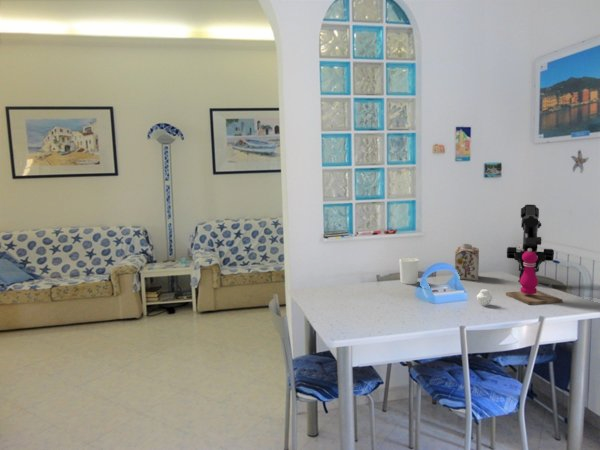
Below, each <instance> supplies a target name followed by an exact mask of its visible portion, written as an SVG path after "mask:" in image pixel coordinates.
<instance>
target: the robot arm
mask: <svg viewBox="0 0 600 450" xmlns="http://www.w3.org/2000/svg"><path fill="white" fill-rule="evenodd" d="M539 217H540V209H539V208H538V207H537V205H535V204H524V206H523V207H522V208H520V218H521V228H522V230H523V232H522V233H523V235H522V236H523V237H522V238H523V239H522V249H520V248H519V249H518V248H517V247H516V246H515V247H514V246H508V247H507V248H506V258H507V259H512V260H513V259H514V261H516V262H518V271H519V272H520V273H519V276H518V277H519V278H518V279H519V280H517V281H518V282H519V283H520V279H521V277H522V275H523V272H524V265H523V262H524V261H523V259H522V255H523V253H525V252H527V251H528V248H531V249H532V251H531V252H534V253H536V255H537V260H536V261H535V263H536V266H535V273H538V272H539V271H540V265H541V264H542V263H544V262H545V261H546V262H547V261H548V262H552V261H554V257H555V250H554V249H553V248H543V251H538V246H541V245H542V236H538V229H540V228H541V227H542V223H541V222H540V220H539Z"/></svg>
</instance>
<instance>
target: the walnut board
mask: <svg viewBox="0 0 600 450" xmlns="http://www.w3.org/2000/svg"><path fill="white" fill-rule="evenodd" d="M505 296H508V297H509V298H512V299H514V300H517V301H519V302H522V303H524V304H526V305H532V306H533V305H544V304H557V303H563V299H562V298H559V297H557V296H554V295H551V294H549V293H545V292H544V291H541V290H538V289H537V293H536V294H525V293H522V292H521V290H520V291H509V292H508V291H507V292H505Z"/></svg>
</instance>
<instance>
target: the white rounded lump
mask: <svg viewBox="0 0 600 450" xmlns="http://www.w3.org/2000/svg"><path fill="white" fill-rule="evenodd" d="M479 291H480V292H479V293H478V294H477V295H476V298H477V301H478V303H479V305H480V306H482V307H488V306H489V305H490V304H491V302H492V300H493V295H492V294H491V293H490V291H489V289H485V288H484V289H480V290H479Z"/></svg>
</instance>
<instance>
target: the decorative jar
mask: <svg viewBox="0 0 600 450" xmlns="http://www.w3.org/2000/svg"><path fill="white" fill-rule="evenodd" d="M479 252H480V251H479V248H478V247H475V246H473V244H472V243H471V244H470V243H463V244H462V246H457V247H455V251H454V253H455V254H454V270H455V269H456V270H457V272H458V274H459V276H460V279H459V280H464V281H465V280H467V281H478V279H479V268H480V267H479V265H480V263H479V261H480V258H479V256H480V255H479Z"/></svg>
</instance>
